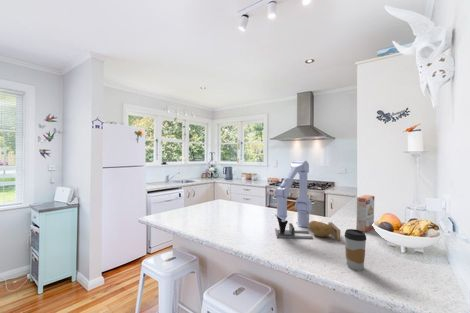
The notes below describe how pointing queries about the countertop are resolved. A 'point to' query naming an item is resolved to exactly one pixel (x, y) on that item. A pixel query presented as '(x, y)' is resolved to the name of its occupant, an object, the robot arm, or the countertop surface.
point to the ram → (287, 231)
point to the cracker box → (365, 213)
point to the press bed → (335, 235)
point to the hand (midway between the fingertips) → (281, 230)
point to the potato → (320, 228)
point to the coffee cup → (355, 248)
